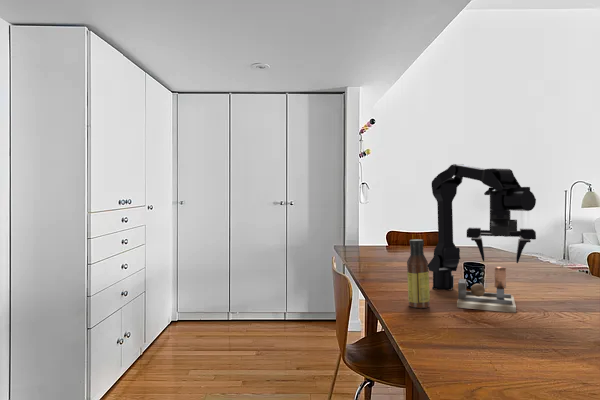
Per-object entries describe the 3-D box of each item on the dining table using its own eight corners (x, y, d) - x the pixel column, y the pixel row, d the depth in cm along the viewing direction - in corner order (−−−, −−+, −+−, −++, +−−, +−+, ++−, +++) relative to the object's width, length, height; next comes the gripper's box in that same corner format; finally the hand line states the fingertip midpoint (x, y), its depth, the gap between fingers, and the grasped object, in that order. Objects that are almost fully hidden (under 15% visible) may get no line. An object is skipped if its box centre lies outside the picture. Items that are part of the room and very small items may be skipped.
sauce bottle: (430, 304, 134) (430, 239, 134) (429, 309, 128) (429, 241, 128) (408, 303, 137) (408, 238, 136) (406, 308, 131) (405, 240, 131)
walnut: (470, 297, 135) (470, 284, 135) (471, 294, 139) (471, 281, 139) (484, 298, 134) (484, 285, 134) (484, 295, 137) (484, 282, 137)
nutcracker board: (457, 307, 131) (457, 285, 131) (460, 296, 146) (460, 276, 146) (515, 312, 125) (515, 289, 125) (513, 300, 140) (513, 279, 140)
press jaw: (494, 300, 132) (494, 268, 132) (494, 296, 137) (494, 265, 137) (506, 301, 130) (506, 269, 130) (505, 297, 136) (505, 266, 136)
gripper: (465, 210, 130) (465, 264, 130) (537, 211, 123) (537, 267, 123) (467, 209, 140) (467, 259, 140) (534, 210, 133) (534, 262, 133)
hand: (500, 262), depth 134 cm, fingers open, 9 cm apart
